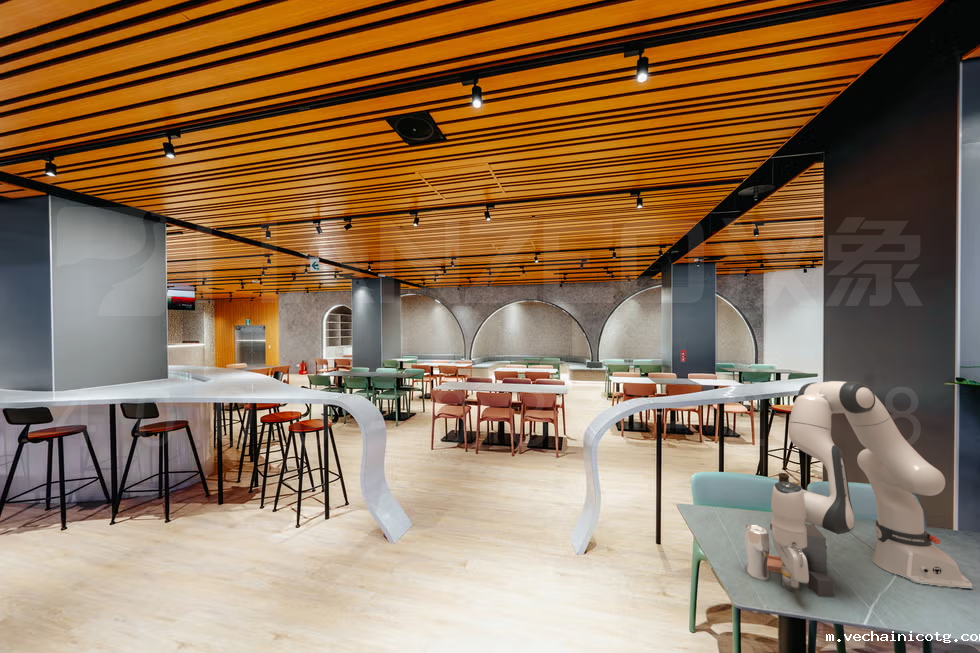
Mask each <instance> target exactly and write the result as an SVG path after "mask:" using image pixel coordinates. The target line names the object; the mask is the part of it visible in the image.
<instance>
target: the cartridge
mask: <svg viewBox="0 0 980 653" xmlns="http://www.w3.org/2000/svg"><path fill="white" fill-rule="evenodd" d="M780 574H781V585H782V588H784V589H785V590H786V591H789V592H791V593H799V592H800V590H801V587H800V583H801V582H798V588H796V587H792V586H791V584H790V578H791V575H790V573H789V571H788V570H787V568H786V566H785V565H782V568H781V573H780Z"/></svg>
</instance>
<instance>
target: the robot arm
mask: <svg viewBox="0 0 980 653" xmlns="http://www.w3.org/2000/svg"><path fill="white" fill-rule="evenodd" d="M833 414H844V415H845V417H846V420H847V421H848V423H849V425H850V427H851V428H852V430H853V432H854V434H855V436H856V437H857V440H858V441H859V442H860V444H861V445H862V446H864V449H862V450H861V451H860V452H859V453H858V455H857V466H858V467H859V468H860V469H861V470H862V471H863V473H864V474H865V476H866V477H867V479H868V482H869V484H870V487H871V490H872V491H873V494H874V498H875V505H876V517H877V518H876V520H875V537H876V545H875V551H874V554H873V557H872V559H871V560H872V562H873V563H874V564H875V565H876V566H877V567H879V568H881V569H883V570H885V571H887V572H888V573H890V574H893V573H894V574H893V575H896V574H899V575H903V576H905V577H907V578H909V579H911V580H913V581H915V582H919V583H928V584H933V585H941V586H951V587H952V586H953V587H972V586H973V583H972V582H971V581H970V580H969V579H968V578H967V577H966V578H965V575H963V574H962V573H961V570H960V568H959V566H958V564H957V562H955V560H954V559H953V558H952V557H950V556H949V555H948V554H946V553H945V552H944V551H943V550H941V549H940V548H939V547H937V546H936V545H939V544H941V542H942V541H941V539H939V538H938V537H936V536H935V535H931V534H930V533H929V532H927V531H925V527H924V510H923V508H922V506H921V504H920V502H918V501H917V500H916V499H915V497H914V496H913V494H917V495H921V496H927V497H931V496H937V495H938V494H941V493H942V492H943V491H944V488H945V487H946V478H945V476H944V474H943V473H942V472H941V471H940V470H939V469H937V468H936V467H934V466H933V465H932V464H930V463H929V462H928V461H927V460H925V459H924V458H923V457H922V456H921V455H920V454H919V453H918V452H917V450H915V449H914V448H913V446H912V445H911V444H909V442H908V441H907V440H906V439H905V437H904V436H903V435H902V433H901V432H900V430H899V429H898V426H897V425H896V424H895V422H894V420H893V418H892V417H891V414H889V412H888V410H887V408H886V407H885V405H884V404H883V403H882V401H881V400H880V399H879V398H878V397H877V395H876V394H875V393H874V391H873V390H872V389H871V388H870V387H869V386H868V385H866V384H864V383H863V382H862V383H861V382H857V381H850V380H849V381H840V380H838V381H837V380H831V381H821V382H815V381H814V382H807V383H806V384H803V385H802V386H801V387H800V389H799V390H798V394H797V397H796V398H795V400H794V403H793V406H792V408H791V412H790V415H789V424H788V437H789V439H790V441H791V443H792V444H793V445H794V446H795V447H797V449H799V450H800V451H802V452H803V453H804V454H805V453H806V455H808V456H811V457H812V458H814V459H816V460H817V461H819V462H820V463H822V465H823V467H825V469H826V471H827V481H828V488H829V496H827V495H823V494H822V495H821V494H819V493H815V492H811V491H809V490H806V489H803V487H802V486H800V485H799V484H796V483H795V482H791V481H789V482H779V481H778V482H776V483H774V484H773V487H772V491H771V504H770V505H771V512H772V519H771V522H769V529H770V530H771V535H772V536H771V538H772V544H773V548H774V551H775V552H776V554H777V556H779V557H780V558H781V561H782V565H785V566H786V568H787V570H788V571H789V573H790V575H791V578H790V584H791V586H792V587H796V588H798V582H800V583H802V584H808V582H809V573H808V563H807V559H806V556H805V555H804V553H803V552H802V548H806V547H807V529H806V526H805V524H806V523H807V524H812V525H814V526H817V527H820V528H823V529H824V530H826V531H828V532H831V533H833V534H836V535H841V534H846V533H848V532H851V531H853V529H854V528H855V515H854V509H853V507H852V502H851V497H850V489H849V487H850V486H849V480H848V473H847V467H846V461H845V457H844V454H843V451H842V449H841V448H839V447H838V446H836V445H835V443H834V441H833V438H832V415H833ZM934 544H935V545H934ZM961 574H962V575H961ZM922 580H923V581H922ZM966 581H968V583H966ZM915 582H914V583H915ZM941 586H940V587H941ZM951 587H950V588H951Z"/></svg>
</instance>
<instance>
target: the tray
mask: <svg viewBox="0 0 980 653" xmlns="http://www.w3.org/2000/svg"><path fill="white" fill-rule="evenodd" d="M781 568H782V561H781V558H780V557H779V555H772V554H769V556H768V562H767V570H768V572H770V573H771V572H772V573H778V574H782V573H781Z"/></svg>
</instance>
